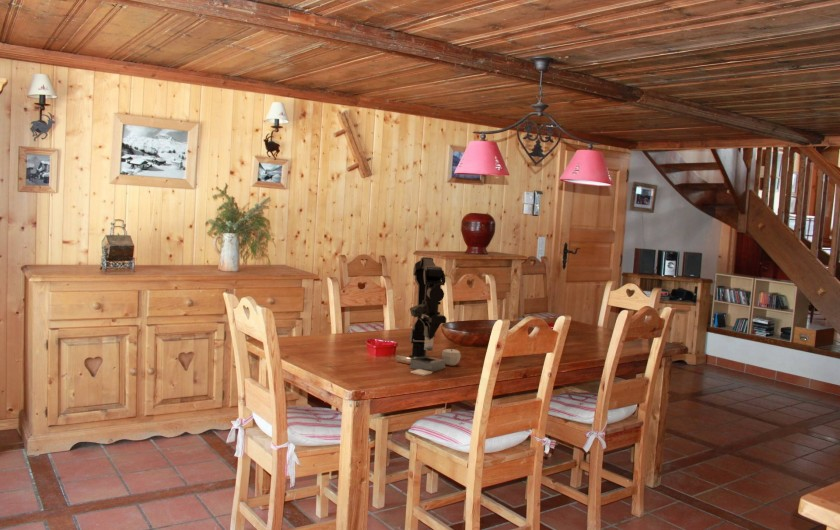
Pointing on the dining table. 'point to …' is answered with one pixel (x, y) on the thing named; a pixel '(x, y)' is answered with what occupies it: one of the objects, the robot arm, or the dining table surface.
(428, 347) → the dark square post
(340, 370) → the dining table surface
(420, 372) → the pad
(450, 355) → the apple
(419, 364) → the block
